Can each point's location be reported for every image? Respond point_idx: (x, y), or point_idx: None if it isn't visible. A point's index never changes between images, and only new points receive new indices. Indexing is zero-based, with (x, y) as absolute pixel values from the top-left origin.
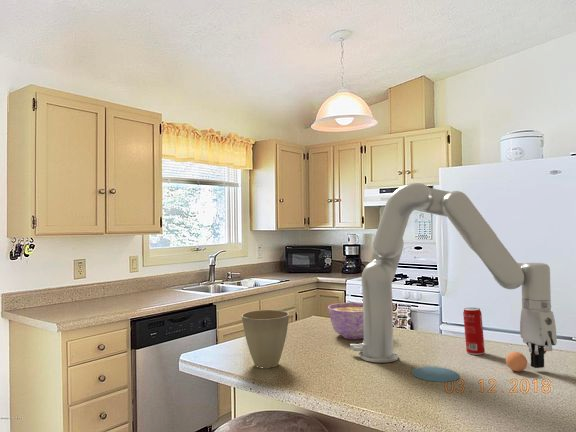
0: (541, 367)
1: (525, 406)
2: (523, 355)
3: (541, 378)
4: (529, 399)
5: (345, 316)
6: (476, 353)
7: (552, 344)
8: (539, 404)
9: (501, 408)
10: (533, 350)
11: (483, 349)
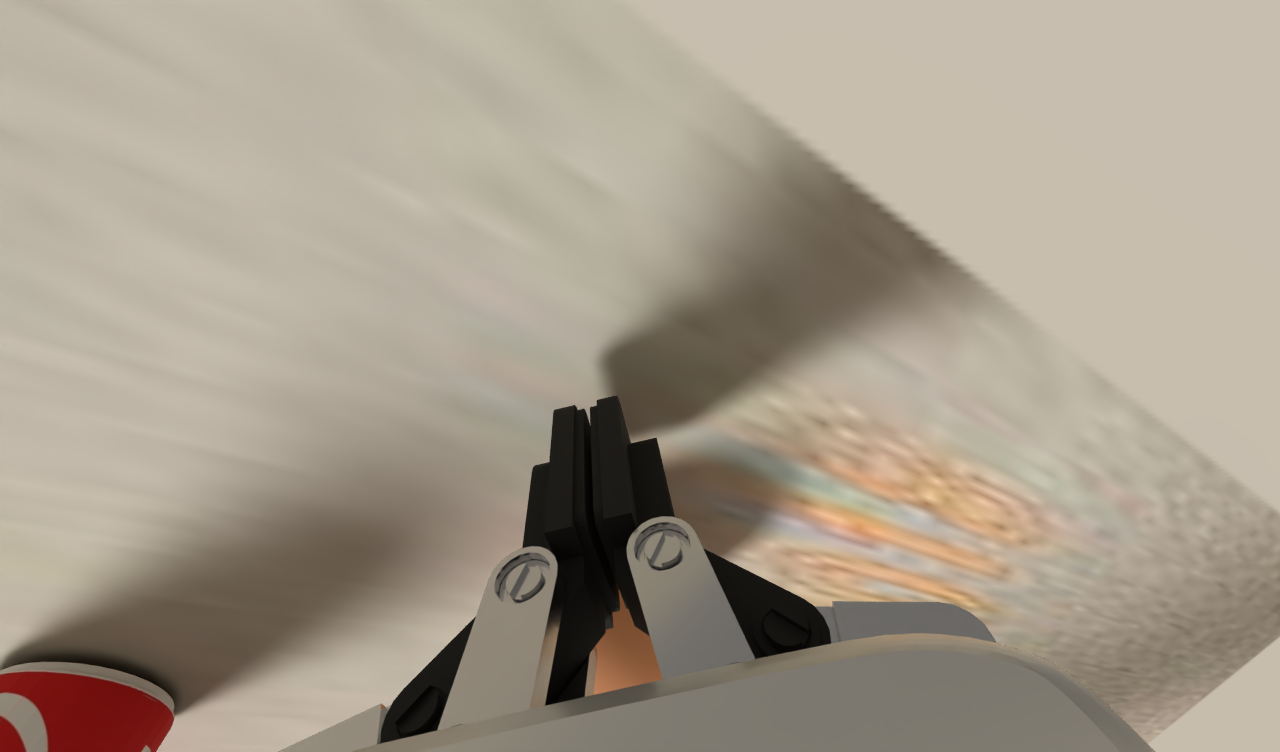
0: (623, 419)
1: (1112, 645)
2: (653, 680)
3: (798, 463)
4: (1065, 617)
5: None
6: (170, 713)
7: (863, 643)
8: (1132, 601)
9: None
10: (593, 648)
11: (84, 717)
